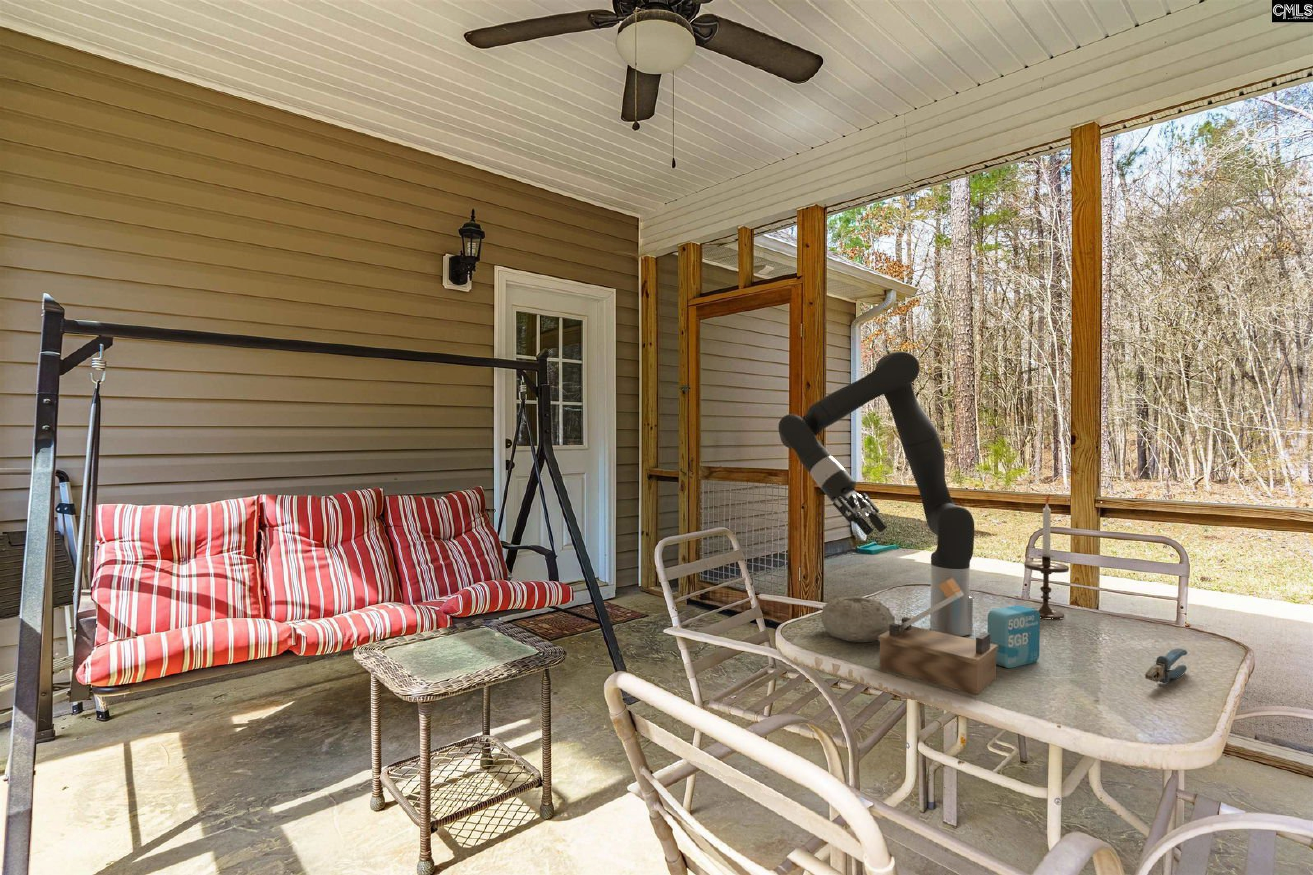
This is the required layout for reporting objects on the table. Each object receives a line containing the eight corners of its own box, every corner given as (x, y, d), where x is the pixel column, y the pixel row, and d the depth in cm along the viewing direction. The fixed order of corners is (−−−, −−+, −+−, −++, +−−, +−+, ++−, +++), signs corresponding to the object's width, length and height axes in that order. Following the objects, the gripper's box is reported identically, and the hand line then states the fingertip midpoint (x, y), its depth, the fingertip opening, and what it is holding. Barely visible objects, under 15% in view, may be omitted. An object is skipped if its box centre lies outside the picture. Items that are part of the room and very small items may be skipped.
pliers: (1154, 695, 126) (1154, 665, 126) (1141, 691, 127) (1141, 662, 127) (1189, 674, 137) (1190, 647, 137) (1177, 671, 139) (1177, 644, 138)
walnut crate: (877, 667, 139) (878, 621, 139) (901, 653, 148) (902, 610, 148) (978, 695, 125) (978, 643, 125) (997, 677, 134) (998, 629, 134)
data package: (1005, 669, 138) (1005, 615, 138) (986, 663, 143) (987, 610, 142) (1039, 661, 144) (1040, 609, 144) (1020, 655, 148) (1021, 604, 148)
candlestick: (1077, 619, 176) (1079, 494, 176) (1044, 621, 174) (1046, 495, 174) (1046, 609, 187) (1047, 491, 187) (1014, 610, 185) (1016, 491, 184)
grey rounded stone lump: (821, 624, 171) (822, 587, 170) (891, 630, 166) (892, 592, 166) (819, 645, 153) (820, 604, 153) (897, 653, 148) (898, 610, 148)
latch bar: (896, 633, 140) (885, 616, 142) (903, 629, 143) (892, 613, 145) (958, 599, 131) (946, 581, 133) (965, 595, 134) (952, 577, 136)
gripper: (828, 469, 150) (874, 524, 142) (856, 467, 161) (901, 518, 153) (808, 490, 154) (852, 544, 146) (836, 487, 164) (879, 537, 156)
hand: (877, 531), depth 149 cm, fingers open, 6 cm apart
